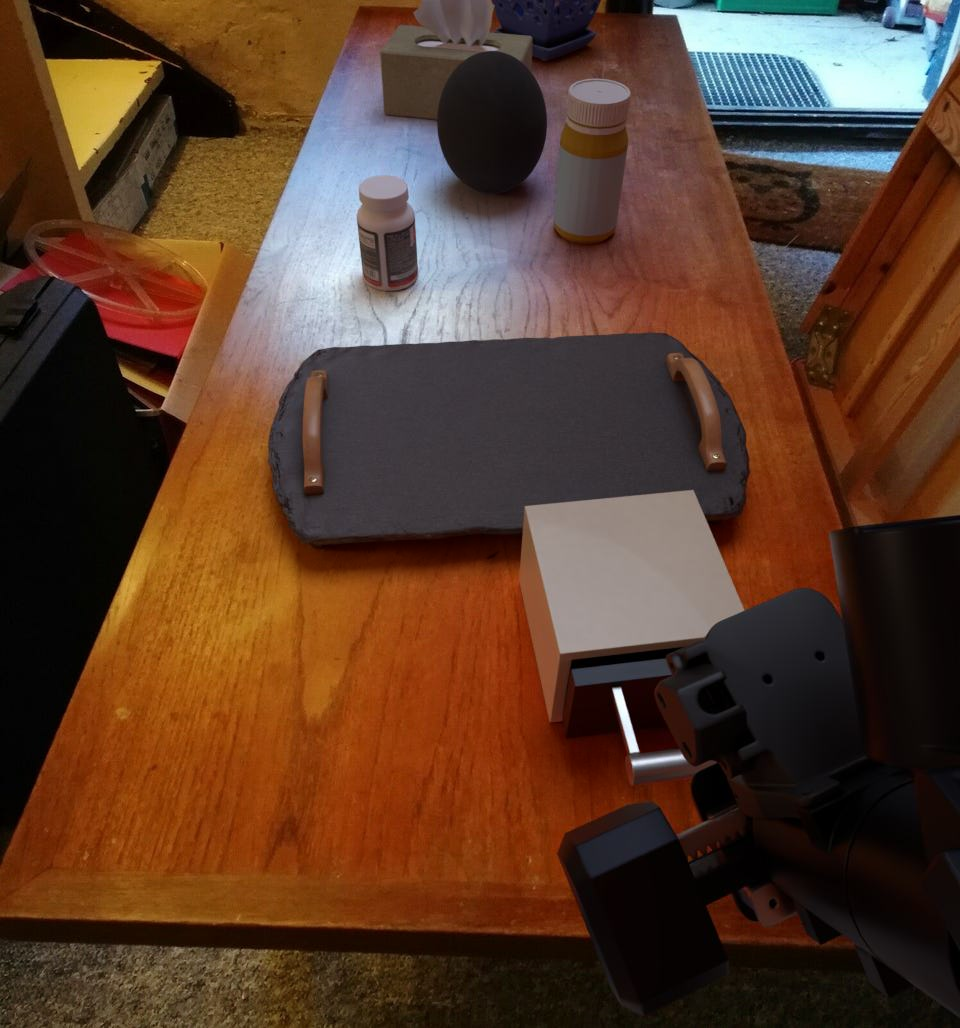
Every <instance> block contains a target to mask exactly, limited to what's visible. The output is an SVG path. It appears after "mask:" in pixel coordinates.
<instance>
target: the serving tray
mask: <svg viewBox="0 0 960 1028" xmlns="http://www.w3.org/2000/svg"><path fill="white" fill-rule="evenodd" d="M267 443H268V444H267V449H268V450H267V451H268V456H267V457H268V459H267V463H268V464H269V468H270V471H271V474H272V477H271V479H272V481H271V483H272V490H273V493H274V496H275V500H276V502H277V503H278V504H279V506H280V508H281V510H282V515H283V516H284V517H285V519H286V520H287V524H288V527H289V528H290V530H291V531H292V533H293V534H294V535H295V536H296V538H298V540H299V541H300V542H301V543H303V544H306V545H309V546H310V547H311V548H313V549H316V550H319V549H323V548H325V547H326V546H327V545H340V544H341V545H342V544H353V543H370V542H371V543H373V542H375V543H376V542H395V541H412V540H413V541H414V540H415V541H416V540H426V541H433V540H441V539H447V538H452V537H463V536H470V535H476V534H481V535H499V536H500V535H501V536H503V535H504V536H505V535H507V536H511V535H518V534H520V535H523V522H524V508H525V506H532V505H542V504H552V503H563V502H573V501H584V500H594V499H604V498H615V497H625V496H635V495H646V494H656V493H667V492H677V491H687V490H694V492H695V495H696V497H697V499H698V502H699V504H700V507H701V509H702V511H703V514H704V516H705V518H706V521H707V522H710V523H713V524H716V525H717V524H718V525H719V524H721V523H724V522H725V521H727V520H730V519H736V518H737V517H739V516H741V515H742V513H743V511H744V509H745V507H746V501H747V484H748V480H749V477H750V474H751V469H750V456H749V452H748V448H747V433H746V429H745V427H744V423H743V422H742V420H741V418H740V415H739V413H738V411H737V409H736V406H735V404H734V402H733V399H732V397H731V396H730V394H729V393H728V391H727V390H726V388H724V387H723V385H722V382H721V381H720V380H719V379H718V378H717V376H715V374H714V373H713V372H712V371H711V370H710V369H709V368H708V366H706V364H705V363H704V362H703V361H702V360H701V359H700V358H698V357H697V356H696V355H695V354H694V353H693V352H692V351H690V350H689V349H688V348H687V346H685V344H684V343H682V342H681V341H680V340H679V339H677V338H676V337H674V336H671V334H668V333H665V332H652V331H651V332H650V331H649V332H640V333H639V332H637V333H634V332H633V333H627V332H624V333H623V332H622V333H610V334H589V335H585V334H584V335H566V336H556V337H519V338H507V339H505V338H504V339H501V338H500V339H499V338H498V339H497V338H496V339H495V338H494V339H483V340H479V339H471V340H461V341H441V342H422V343H421V342H420V343H396V344H381V345H355V346H341V347H340V346H333V347H326V348H320V349H317V350H315V351H314V352H312V354H310V355H309V356H308V357H307V358H305V359H304V360H303V361H302V363H301V364H300V365H299V367H298V369H297V370H296V371H295V372H293V377H292V378H291V379H290V381H289V382H288V383H287V385H286V387H285V389H284V391H283V392H282V394H281V396H280V398H279V401H278V407H277V410H276V413H275V415H274V417H273V420H272V424H271V426H270V429H269V435H268V440H267Z"/></svg>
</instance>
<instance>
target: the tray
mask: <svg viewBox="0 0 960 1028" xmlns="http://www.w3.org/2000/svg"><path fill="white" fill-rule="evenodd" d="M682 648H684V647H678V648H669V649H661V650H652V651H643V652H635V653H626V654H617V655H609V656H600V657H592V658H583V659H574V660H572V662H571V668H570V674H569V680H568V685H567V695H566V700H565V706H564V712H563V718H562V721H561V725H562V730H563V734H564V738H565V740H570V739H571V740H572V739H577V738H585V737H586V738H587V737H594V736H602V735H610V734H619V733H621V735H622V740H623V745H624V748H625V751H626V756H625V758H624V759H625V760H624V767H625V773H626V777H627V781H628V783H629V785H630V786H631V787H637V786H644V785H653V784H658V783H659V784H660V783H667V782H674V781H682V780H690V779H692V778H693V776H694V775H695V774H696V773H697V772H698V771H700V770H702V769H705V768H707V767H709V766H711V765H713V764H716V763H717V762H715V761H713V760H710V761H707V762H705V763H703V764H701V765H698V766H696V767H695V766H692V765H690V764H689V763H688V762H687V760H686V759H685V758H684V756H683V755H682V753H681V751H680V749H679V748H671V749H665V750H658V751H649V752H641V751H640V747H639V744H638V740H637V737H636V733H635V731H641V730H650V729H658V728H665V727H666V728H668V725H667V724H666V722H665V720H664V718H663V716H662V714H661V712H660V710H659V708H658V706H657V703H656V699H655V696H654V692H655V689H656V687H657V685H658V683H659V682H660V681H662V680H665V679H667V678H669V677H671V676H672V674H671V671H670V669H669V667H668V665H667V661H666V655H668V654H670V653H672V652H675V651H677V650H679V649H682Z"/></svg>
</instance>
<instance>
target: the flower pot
mask: <svg viewBox="0 0 960 1028" xmlns="http://www.w3.org/2000/svg"><path fill="white" fill-rule="evenodd" d="M491 2H492V3H493V4H494V5H495V7H494V10H493V11H494V12H495V15H496V18H497V20H498V23H499V25H500V27H498V28H496V29H494V31H493V33H503V34H514V35H526V36H531V37H532V57H535V58H537V59H540V60H541V61H543V62H547V61H549V60H550V61H551V60H554V59H557V58H559V57H562V56H564V55H567V54H569V53H572V52H574V51H577V50H580V49H582V48H584V47H586V46H587V45H589V44H590V43H591V42H592V41H593V40H594V39H595V37H596V36H597V32H596V31H595V30H592V29H590V28H588V27H589V25H590V24H591V22H592V21H593V19H594V17H595V15H596V13H597V11H598V9H599V6H600V4H601V2H602V0H491Z"/></svg>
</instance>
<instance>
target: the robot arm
mask: <svg viewBox="0 0 960 1028" xmlns="http://www.w3.org/2000/svg"><path fill="white" fill-rule="evenodd" d="M828 537H829V545H830V551H831V556H832V562H833V570H834V574H835V582H836V589H837V594H838V600H839V608H840V613H841V615H840V613H839V611H838V609H837V608H836V607H835V605H834V604H833V603H832V601H831V600H830V599H829V598H828V596H827V595H825V594H823V593H822V592H820V591H818V590H816V589H814V588H813V589H812V588H810V587H809V588H808V587H799V588H794V589H792V590H789V591H786V592H784V593H782V594H780V595H778V596H775V597H772V598H771V599H770V598H769V599H768V600H766V601H763V602H761V603H759V604H757V605H754V606H752V607H749V608H747V609H744V610H745V611H742V612H740V613H738V614H735V615H733V616H731V617H728V618H726V619H724V620H721V621H719V622H718V623H716V624H715V625H714V626H713V627H712V628H711V629H710V630H709V632H708V633H707V635H706V636H705V638H704V639H702V640H700V641H698V642H695V643H693V644H691V645H688V646H686V647H684V648H682V649H679V650H677V651H675V652H672V653H670V654H668V655H666V661H667V665H668V667H669V669H670V671H671V674H672V676H671V677H669V678H667V679H665V680H662V681H660V682H659V683H658V685H657V687H656V689H655V692H654V696H655V699H656V703H657V706H658V708H659V710H660V712H661V714H662V716H663V718H664V720H665V722H666V724H667V725H668V726H667V728H668V729H669V731H670V733H671V735H672V737H673V739H674V741H675V743H676V745H677V747H678V749H680V751H681V753H682V755H683V756H684V758H685V759H686V760H687V762H688V763H689V764H690V765H692V766H695V767H696V766H698V765H701V764H703V763H705V762H707V761H710V760H713V761H715V762H717V763H716V764H713V765H711V766H709V767H707V768H705V769H702V770H700V771H698V772H697V773H696V774H695V775H694V776H693V778H691V780H690V785H689V786H690V797H691V801H692V804H693V805H694V808H695V810H696V811H695V812H696V813H697V815H698V818H699V820H700V823H698V824H696V825H694V826H692V827H689V828H687V829H685V830H683V831H681V832H679V833H677V834H676V832H675V830H674V828H673V827H672V825H671V823H670V821H669V820H668V818H667V817H666V814H665V813H664V811H663V810H662V809H661V807H660V806H659V805H658V804H656V803H655V802H653V801H652V800H649V801H642V802H637V803H631V804H626V805H623V806H621V807H619V808H617V809H615V810H612V811H611V812H608V813H606V814H603V815H602V816H600V817H598V818H595V819H592V820H590V821H589V822H586V823H584V824H582V825H580V826H578V827H575V828H573V829H571V830H569V831H567V832H564V834H563V837H562V840H561V842H560V844H559V847H558V850H557V852H556V855H557V858H558V860H559V863H560V865H561V868H562V870H563V872H564V875H565V877H566V880H567V882H568V885H569V887H570V890H571V892H572V895H573V897H574V900H575V903H576V906H577V907H578V910H579V912H580V915H581V919H582V920H583V922H584V925H585V928H586V930H587V933H588V935H589V937H590V940H591V942H592V945H593V947H594V950H595V952H596V955H597V958H598V960H599V963H600V965H601V967H602V970H603V972H604V975H605V977H606V980H607V982H608V985H609V988H610V989H611V991H612V992H613V994H614V996H615V997H616V999H617V1001H618V1003H619V1004H620V1006H622V1007H623V1008H625V1009H627V1010H629V1011H631V1012H633V1013H635V1014H637V1015H639V1016H642V1017H643V1018H644V1017H647V1016H649V1015H650V1014H653V1013H655V1012H656V1011H659V1010H661V1009H663V1008H665V1007H668V1005H671V1004H673V1003H675V1002H677V1001H679V1000H681V999H683V998H685V997H687V996H689V995H691V994H693V993H695V992H697V991H699V990H701V989H703V988H706V987H707V986H709V985H711V984H713V983H716V982H717V981H719V980H722V979H723V978H725V977H728V976H729V975H730V966H729V964H730V962H729V957H728V955H727V953H726V950H725V948H724V945H723V942H722V940H721V939H720V936H719V934H718V931H717V929H716V926H715V924H714V921H713V919H712V915H711V913H710V911H709V909H708V907H707V906H709V905H711V904H712V903H715V902H717V901H719V900H721V899H723V898H725V897H727V896H729V895H731V897H732V899H733V902H734V905H735V907H736V909H737V910H738V911H739V913H740V914H741V915H742V916H743V917H745V918H746V919H747V920H749V921H751V922H757V923H758V922H759V924H761V926H762V927H765V928H771V927H773V926H775V925H777V924H780V923H782V922H784V921H786V920H788V919H790V918H792V917H795V916H797V915H798V917H799V919H800V922H801V925H802V926H803V929H804V931H805V933H806V935H807V936H808V937H810V938H811V939H812V940H813V941H815V942H816V943H817V944H818V945H820V946H822V945H824V944H827V943H828V942H831V941H833V940H835V939H837V938H838V937H841V936H844V937H845V938H846V939H848V940H849V941H851V942H852V943H853V947H854V948H855V950H856V953H857V955H858V957H859V959H860V962H861V964H862V967H863V969H864V971H865V973H866V976H867V978H868V981H869V983H870V984H871V985H872V987H874V988H876V989H877V990H878V991H879V992H881V993H882V994H883V995H884V996H885V997H887V998H889V999H891V998H892V997H895V996H896V995H898V994H901V993H903V992H904V991H906V990H908V989H910V988H912V987H914V986H915V988H917V989H918V990H920V991H921V992H923V993H924V994H926V995H927V996H928V997H930V998H931V999H932V1000H934V1001H935V1002H937V1003H938V1004H939V1005H941V1006H943V1007H944V1008H945V1009H947V1010H948V1011H949V1012H951V1013H952V1014H954V1015H955V1016H956V1017H958V1018H959V1019H960V514H957V515H948V516H936V517H929V518H928V517H927V518H917V519H910V520H901V521H891V522H881V523H873V524H872V523H871V524H864V525H863V524H862V525H857V526H850V527H845V528H839V529H835V530H832V531H829V532H828ZM708 847H709V848H710V849H711V850H710V851H708ZM698 851H699V852H700V854H701V855H699V856H698ZM688 856H690V858H691V859H690V860H689V857H688Z"/></svg>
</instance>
